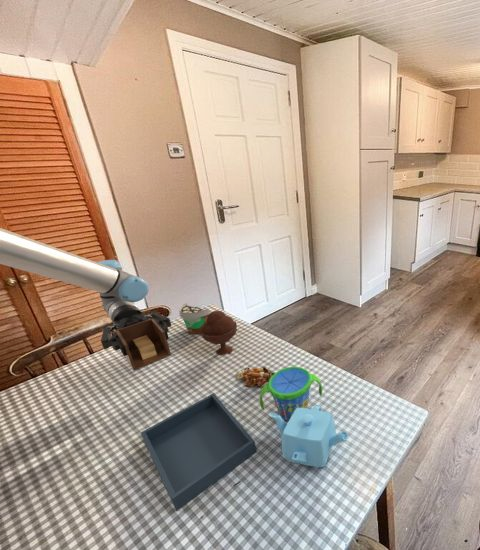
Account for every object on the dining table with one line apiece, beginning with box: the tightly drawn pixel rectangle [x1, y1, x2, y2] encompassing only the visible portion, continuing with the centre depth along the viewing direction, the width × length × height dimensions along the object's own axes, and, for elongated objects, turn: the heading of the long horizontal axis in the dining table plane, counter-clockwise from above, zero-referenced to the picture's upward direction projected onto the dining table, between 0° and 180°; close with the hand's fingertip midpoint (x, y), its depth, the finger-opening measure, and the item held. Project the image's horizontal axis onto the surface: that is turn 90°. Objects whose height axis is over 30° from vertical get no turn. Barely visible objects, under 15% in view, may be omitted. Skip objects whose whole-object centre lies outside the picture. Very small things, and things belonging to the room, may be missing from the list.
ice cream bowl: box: [200, 310, 238, 356], centre depth 101 cm, size 11×11×15 cm
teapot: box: [269, 405, 349, 469], centre depth 66 cm, size 18×14×10 cm
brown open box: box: [114, 318, 172, 371], centre depth 85 cm, size 11×9×8 cm
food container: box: [179, 303, 211, 336], centre depth 113 cm, size 12×6×10 cm, turn 68°
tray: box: [140, 392, 257, 512], centre depth 69 cm, size 22×17×4 cm
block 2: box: [136, 340, 157, 360], centre depth 85 cm, size 3×3×3 cm
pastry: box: [235, 366, 276, 388], centre depth 90 cm, size 7×12×4 cm, turn 78°
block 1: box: [133, 335, 150, 353], centre depth 87 cm, size 3×3×3 cm
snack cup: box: [259, 366, 323, 422], centre depth 78 cm, size 16×10×10 cm
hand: (146, 343), depth 82 cm, fingers closed on brown open box, 9 cm apart
